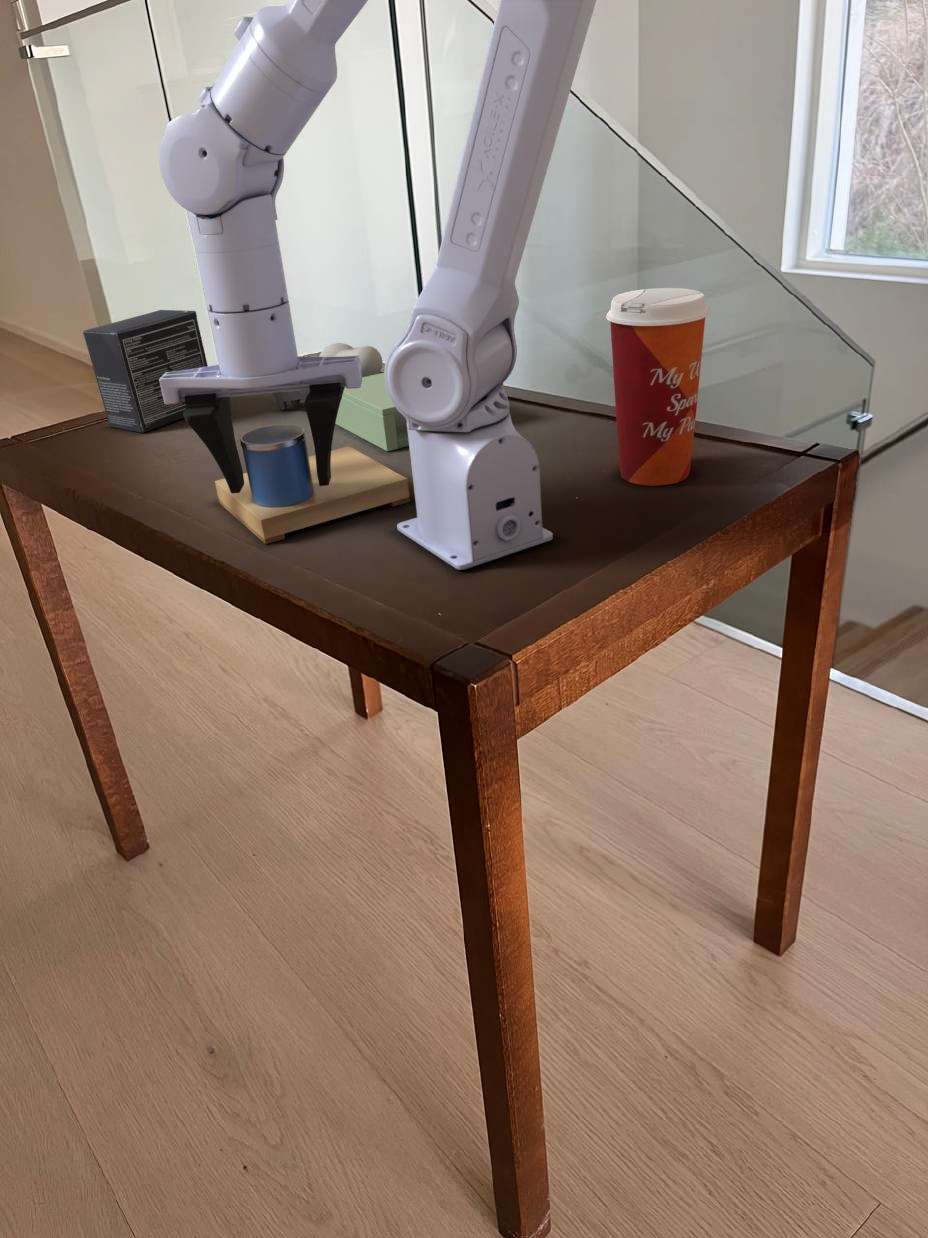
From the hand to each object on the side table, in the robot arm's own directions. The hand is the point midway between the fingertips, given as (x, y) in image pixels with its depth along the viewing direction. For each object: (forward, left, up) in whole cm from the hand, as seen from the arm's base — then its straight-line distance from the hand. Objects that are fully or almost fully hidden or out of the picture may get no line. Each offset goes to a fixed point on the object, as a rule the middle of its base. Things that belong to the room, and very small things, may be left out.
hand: (281, 485), depth 74 cm
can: (0, 0, -1) cm, 1 cm away
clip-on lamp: (+33, -17, -3) cm, 37 cm away
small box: (+38, -1, -3) cm, 38 cm away
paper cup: (-12, -28, -3) cm, 30 cm away
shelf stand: (+15, -20, -3) cm, 25 cm away
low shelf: (+2, -3, -3) cm, 5 cm away
